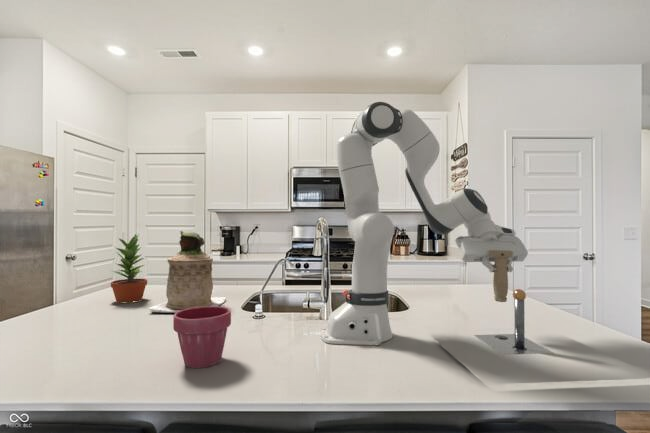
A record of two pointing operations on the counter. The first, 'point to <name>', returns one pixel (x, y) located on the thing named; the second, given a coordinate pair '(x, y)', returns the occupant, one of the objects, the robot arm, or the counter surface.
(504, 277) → the handle
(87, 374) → the counter surface
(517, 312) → the lever with round knob
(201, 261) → the cookie jar
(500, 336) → the plate
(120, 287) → the potted plant
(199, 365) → the plant pot
